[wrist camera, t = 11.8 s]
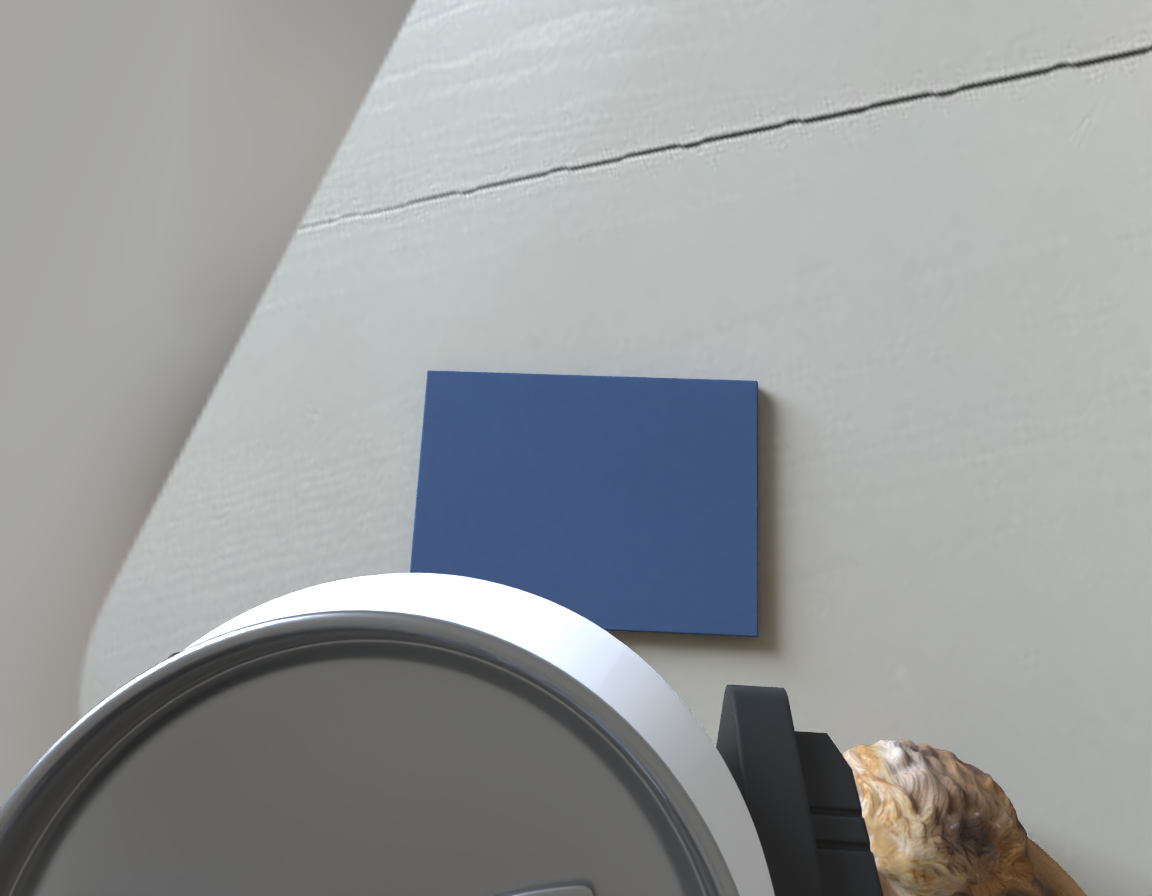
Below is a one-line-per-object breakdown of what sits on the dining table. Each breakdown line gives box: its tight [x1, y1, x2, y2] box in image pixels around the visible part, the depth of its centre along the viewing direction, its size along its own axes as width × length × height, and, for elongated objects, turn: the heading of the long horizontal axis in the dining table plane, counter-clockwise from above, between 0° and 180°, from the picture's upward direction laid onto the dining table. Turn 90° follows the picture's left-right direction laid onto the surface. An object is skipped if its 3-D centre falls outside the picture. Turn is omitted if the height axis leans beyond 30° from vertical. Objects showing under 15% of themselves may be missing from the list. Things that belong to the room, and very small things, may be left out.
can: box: [0, 573, 775, 896], centre depth 11 cm, size 6×6×12 cm
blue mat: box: [410, 371, 758, 637], centre depth 30 cm, size 12×9×1 cm
